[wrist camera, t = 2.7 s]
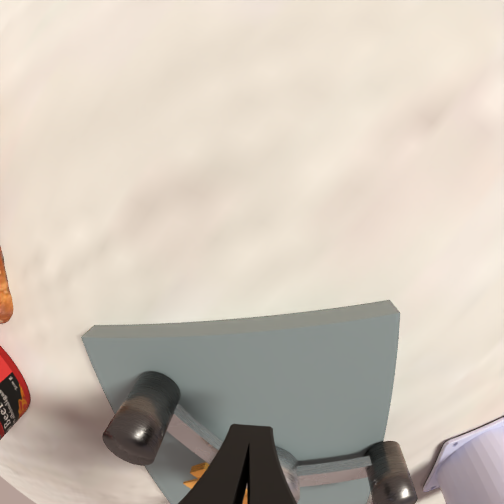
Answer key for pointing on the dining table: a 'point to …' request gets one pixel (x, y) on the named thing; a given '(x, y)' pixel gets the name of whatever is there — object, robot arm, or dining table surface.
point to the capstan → (207, 444)
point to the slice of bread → (4, 294)
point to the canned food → (11, 393)
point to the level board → (265, 384)
